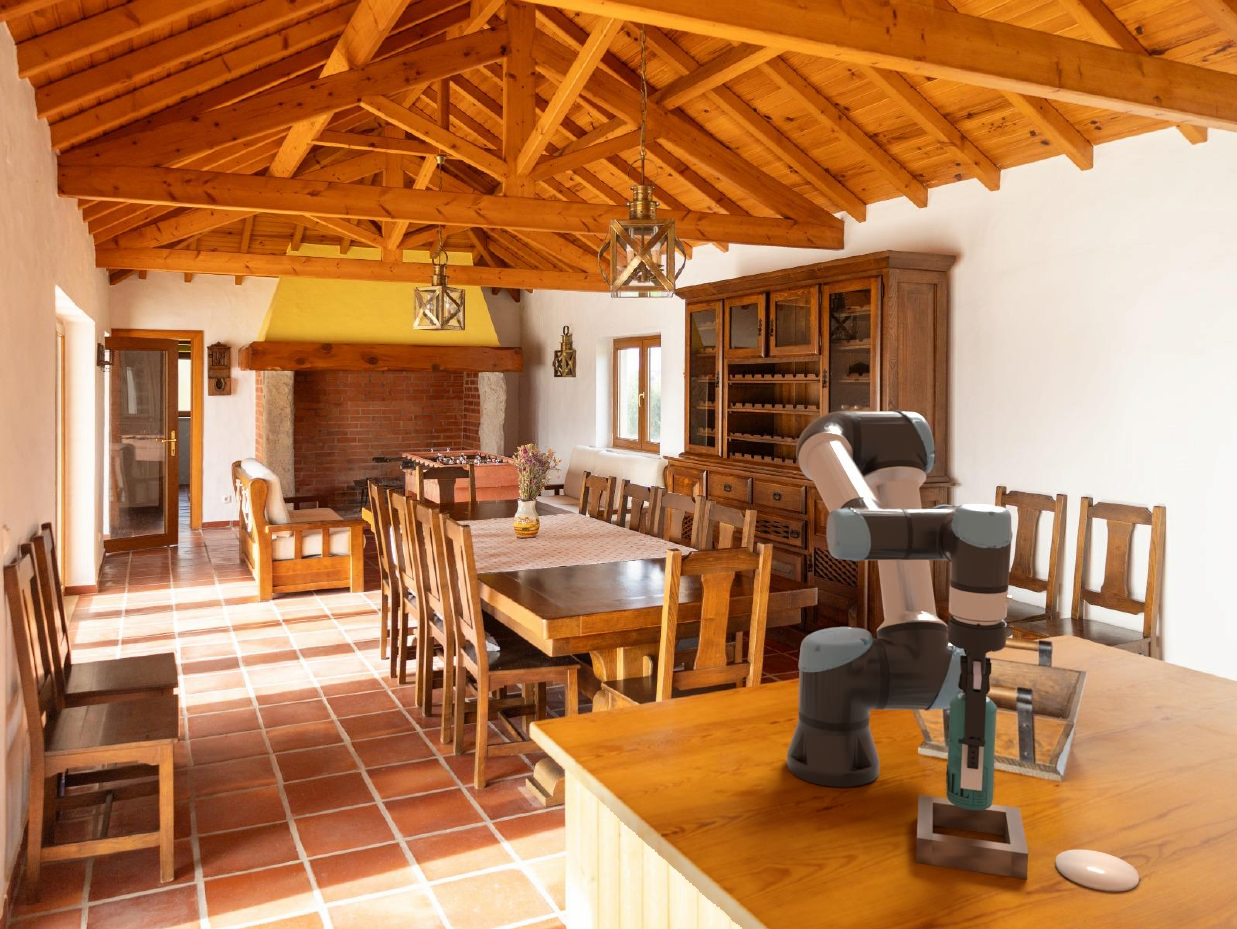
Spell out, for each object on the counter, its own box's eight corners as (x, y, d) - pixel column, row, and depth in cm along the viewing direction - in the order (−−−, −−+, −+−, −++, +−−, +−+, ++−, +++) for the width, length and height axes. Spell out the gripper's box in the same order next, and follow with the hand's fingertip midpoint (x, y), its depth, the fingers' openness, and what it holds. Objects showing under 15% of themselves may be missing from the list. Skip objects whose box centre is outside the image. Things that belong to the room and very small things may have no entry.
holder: (916, 862, 132) (916, 837, 132) (918, 817, 145) (918, 794, 145) (1027, 878, 128) (1028, 853, 128) (1018, 831, 141) (1019, 807, 141)
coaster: (1060, 883, 127) (1060, 880, 127) (1051, 848, 136) (1051, 844, 136) (1145, 896, 124) (1145, 893, 123) (1130, 859, 133) (1131, 855, 133)
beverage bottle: (998, 807, 138) (1005, 671, 135) (986, 826, 132) (994, 684, 130) (951, 795, 141) (957, 662, 139) (938, 813, 136) (944, 675, 133)
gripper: (1012, 640, 123) (1003, 812, 126) (1002, 602, 141) (995, 753, 144) (949, 634, 125) (942, 804, 128) (948, 598, 144) (941, 746, 147)
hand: (970, 776), depth 136 cm, fingers closed on beverage bottle, 6 cm apart
